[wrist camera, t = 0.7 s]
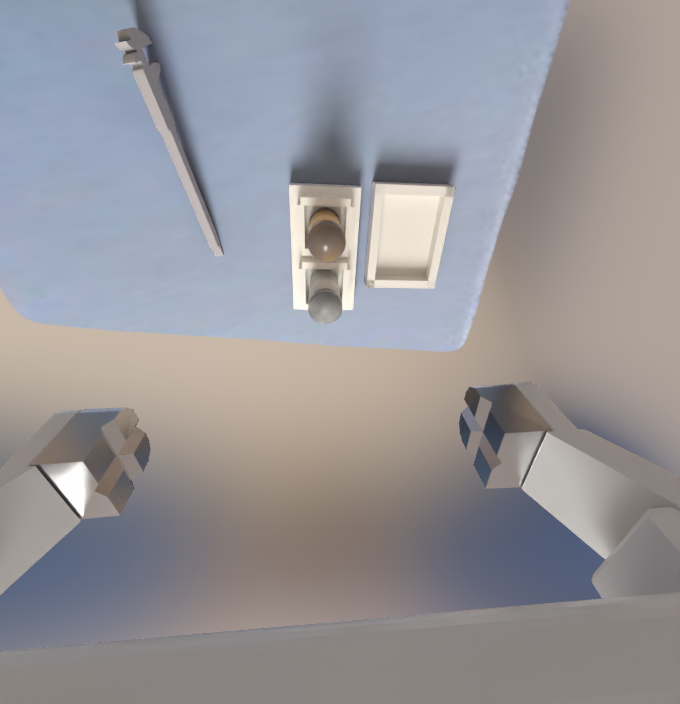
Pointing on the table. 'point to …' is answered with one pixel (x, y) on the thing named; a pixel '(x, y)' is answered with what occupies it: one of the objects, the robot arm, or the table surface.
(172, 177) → the table surface
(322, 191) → the block
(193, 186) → the caliper
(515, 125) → the table surface
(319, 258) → the fuse
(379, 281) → the parts tray
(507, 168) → the table surface
